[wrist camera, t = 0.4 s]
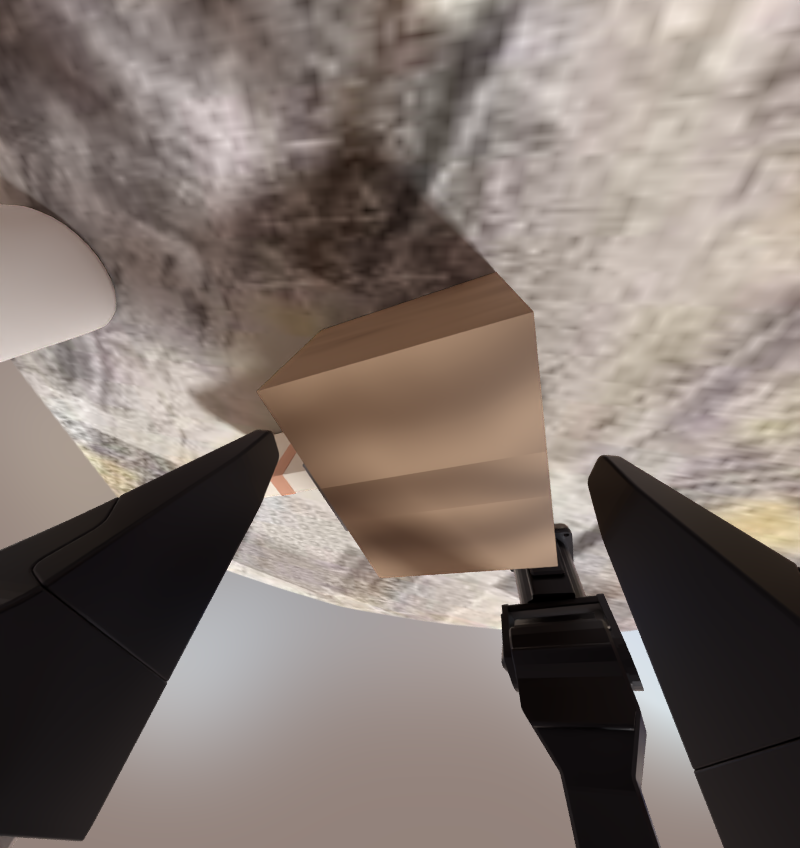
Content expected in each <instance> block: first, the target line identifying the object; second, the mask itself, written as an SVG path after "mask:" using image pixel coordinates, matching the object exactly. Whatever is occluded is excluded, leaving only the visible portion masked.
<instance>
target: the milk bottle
mask: <svg viewBox="0 0 800 848" xmlns="http://www.w3.org/2000/svg"><path fill="white" fill-rule="evenodd" d="M115 310H116V295H115V290H114V287H113V284H112V281H111V279H110V277H109V275H108V273H107V271H106V269H105V267H104V266H103V264H102V263H101V261H100V260H99V258H98V256H97V255H96V254H95V253H94V252H93V251H92V249H91V248H90V247H89V246H88V244H86V243H85V242H84V241H83V240H82V239H81V238H80V237H79V236H78V235H77V234H76V233H75V232H74V231H72V230H71V229H70V228H68V227H67V226H66V225H65V224H63V223H61V222H60V221H58V220H56V219H55V218H53V217H51V216H49V215H46V214H44V213H42V212H40V211H37V210H35V209H32V208H29V207H25V206H20V205H5V204H0V362H3V361H6V360H9V359H12V358H15V357H18V356H21V355H24V354H27V353H30V352H33V351H36V350H39V349H42V348H45V347H48V346H51V345H54V344H57V343H60V342H63V341H66V340H69V339H72V338H75V337H78V336H81V335H84V334H87V333H90V332H92V331H95V330H98V329H100V328H102V327H104V326H106V325H107V324H108V323H109V321H110V320H111V319H112V317H113V316H114V313H115Z"/></svg>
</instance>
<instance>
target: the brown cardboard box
mask: <svg viewBox="0 0 800 848" xmlns="http://www.w3.org/2000/svg"><path fill="white" fill-rule="evenodd" d="M256 392H257V393H258V395H259V396H260V398H261V399H262V401H263V402H264V404H265V405H266V407H267V408H268V410H269V412H270V413H271V415H272V416H273V418H274V419H275V421H276V422H277V424H278V425H279V427H280V428H281V430H282V431H283V433H284V434H285V436H286V437H287V439H288V440H289V442H290V443H291V445H292V446H293V448H294V449H295V451H296V452H297V454H298V455H299V457H300V458H301V460H302V461H303V465H302V466H303V467H304V469H305V470H306V472H307V473H308V475H309V476H310V478H311V479H312V481H313V482H314V484H315V485H316V487H317V488H318V490H319V491H320V493H321V494H322V496H323V497H324V499H325V500H326V502H327V503H328V505H329V506H330V508H331V509H332V511H333V512H334V513H335V515H336V516H337V518H338V519H339V521H340V522H341V524H342V525H343V527H344V528H345V530H346V531H349V532H350V534H351V535H352V537H353V538H354V540H355V541H356V543H357V544H358V546H359V547H360V549H361V550H362V552H363V553H364V555H365V556H366V558H367V559H368V561H369V562H370V564H371V565H372V567H373V568H374V570H375V571H376V573H377V574H378V576H379V577H380V578H390V577H405V576H420V575H435V574H450V573H465V572H480V571H494V570H509V569H524V568H539V567H554V566H558V562H557V552H556V541H555V531H554V521H553V510H552V500H551V489H550V479H549V468H548V458H547V448H546V437H545V427H544V416H543V406H542V395H541V385H540V375H539V364H538V354H537V343H536V333H535V322H534V312H533V311H532V310H531V309H530V307H529V306H528V305H527V304H526V303H525V302H524V301H523V300H522V299H521V298H520V297H519V296H518V295H517V294H516V293H515V291H514V290H513V289H512V288H511V287H510V286H509V285H508V284H507V283H506V282H505V281H504V280H503V279H502V278H501V277H500V275H499V274H498V273H497V272H494V273H491V274H488V275H485V276H482V277H479V278H476V279H473V280H470V281H467V282H464V283H461V284H458V285H455V286H452V287H449V288H446V289H443V290H440V291H437V292H434V293H431V294H428V295H425V296H422V297H419V298H416V299H413V300H410V301H407V302H404V303H401V304H398V305H395V306H392V307H389V308H386V309H383V310H380V311H377V312H374V313H371V314H368V315H365V316H362V317H359V318H356V319H353V320H350V321H347V322H344V323H341V324H338V325H335V326H332V327H329V328H326V329H323V330H321V331H320V332H319V333H318V334H316V335H315V336H314V337H313V338H312V339H311V340H310V341H309V342H308V343H307V344H306V345H305V346H304V347H303V348H302V349H301V350H300V351H299V352H297V353H296V354H295V355H294V356H293V357H292V358H291V359H290V360H289V361H288V362H287V363H286V364H285V365H284V366H283V367H282V368H281V369H280V370H278V371H277V372H276V373H275V374H274V375H273V376H272V377H271V378H270V379H269V380H268V381H267V382H266V383H265V384H264V385H263V386H262V387H260V388H259V389H258V390H257V391H256Z"/></svg>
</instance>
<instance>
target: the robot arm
mask: <svg viewBox="0 0 800 848" xmlns="http://www.w3.org/2000/svg"><path fill="white" fill-rule="evenodd" d="M278 460H279V451H278V447H277V444H276V440H275V437H274V434H273V433H272V432H271V431H269V430H256V431H253V432H251V433H249V434H247V435H245V436H243V437H241V438H239V439H237V440H235V441H233V442H231V443H229V444H226V445H224V446H222V447H220V448H218V449H216V450H214V451H212V452H210V453H208V454H206V455H204V456H202V457H200V458H197V459H195V460H193V461H191V462H189V463H187V464H185V465H183V466H181V467H179V468H177V469H175V470H173V471H171V472H168V473H166V474H164V475H162V476H160V477H158V478H156V479H154V480H152V481H150V482H148V483H146V484H144V485H141V486H139V487H137V488H135V489H133V490H131V491H129V492H127V493H125V494H123V495H121V496H120V497H119V498H118V497H117V498H114V499H112V500H110V501H108V502H106V503H104V504H102V505H100V506H98V507H96V508H94V509H92V510H89V511H87V512H85V513H83V514H81V515H79V516H76V517H74V518H72V519H70V520H68V521H66V522H63V523H61V524H59V525H57V526H54V527H52V528H50V529H47V530H45V531H43V532H41V533H38V534H36V535H34V536H32V537H29V538H27V539H25V540H22V541H20V542H18V543H15V544H13V545H11V546H8V547H6V548H4V549H1V550H0V848H11V847H12V845H13V844H14V843H15V841H16V840H17V838H18V837H23V838H38V839H54V840H69V841H83V840H84V838H85V836H86V835H87V833H88V831H89V830H90V828H91V826H92V825H93V823H94V821H95V819H96V817H97V815H98V813H99V812H100V810H101V808H102V806H103V804H104V802H105V800H106V798H107V796H108V794H109V792H110V791H111V789H112V787H113V785H114V783H115V781H116V779H117V777H118V776H119V774H120V772H121V770H122V768H123V766H124V764H125V762H126V760H127V759H128V757H129V755H130V753H131V751H132V749H133V747H134V745H135V743H136V741H137V739H138V738H139V736H140V734H141V732H142V730H143V728H144V726H145V724H146V723H147V720H148V719H149V717H150V715H151V713H152V711H153V709H154V707H155V705H156V704H157V702H158V700H159V698H160V696H161V694H162V692H163V690H164V688H165V686H166V685H167V681H168V680H169V678H170V676H171V675H172V672H173V671H174V669H175V667H176V665H177V663H178V661H179V659H180V657H181V656H182V654H183V652H184V650H185V648H186V646H187V644H188V642H189V640H190V638H191V637H192V635H193V633H194V631H195V629H196V627H197V625H198V623H199V621H200V619H201V618H202V616H203V614H204V612H205V610H206V608H207V606H208V604H209V602H210V601H211V599H212V597H213V595H214V593H215V591H216V589H217V587H218V585H219V583H220V581H221V580H222V578H223V576H224V574H225V572H226V570H227V568H228V566H229V565H230V563H231V561H232V559H233V557H234V555H235V553H236V551H237V549H238V547H239V546H240V544H241V542H242V540H243V538H244V536H245V534H246V532H247V530H248V528H249V527H250V525H251V523H252V521H253V519H254V517H255V515H256V513H257V511H258V509H259V507H260V505H261V503H262V501H263V498H264V496H265V493H266V491H267V488H268V486H269V483H270V481H271V478H272V476H273V473H274V471H275V468H276V466H277V463H278ZM588 488H589V491H590V495H591V499H592V503H593V506H594V510H595V514H596V518H597V521H598V525H599V529H600V532H601V535H602V539H603V542H604V544H605V547H606V550H607V552H608V555H609V557H610V560H611V562H612V565H613V567H614V570H615V572H616V575H617V577H618V580H619V583H620V585H621V588H622V590H623V593H624V595H625V598H626V600H627V603H628V605H629V608H630V610H631V613H632V615H633V618H634V621H635V623H636V626H637V628H638V631H639V633H640V635H641V638H642V641H643V643H644V646H645V648H646V650H647V653H648V655H649V658H650V661H651V664H652V666H653V669H654V671H655V674H656V676H657V679H658V681H659V684H660V686H661V689H662V691H663V694H664V697H665V699H666V702H667V704H668V706H669V709H670V712H671V714H672V716H673V719H674V722H675V724H676V727H677V729H678V732H679V734H680V737H681V740H682V742H683V745H684V747H685V750H686V752H687V755H688V757H689V760H690V762H691V765H692V767H693V769H695V771H694V773H695V776H696V778H697V781H698V784H699V786H700V789H701V791H702V794H703V796H704V799H705V801H706V804H707V806H708V809H709V811H710V814H711V816H712V819H713V821H714V824H715V827H716V829H717V832H718V834H719V837H720V839H721V842H722V844H723V847H724V848H800V567H797V565H796V564H795V563H794V562H792V561H790V560H789V559H787V558H785V557H784V556H782V555H780V554H779V553H777V552H776V551H774V550H772V549H771V548H769V547H767V546H766V545H764V544H762V543H761V542H759V541H757V540H756V539H754V538H753V537H751V536H749V535H748V534H746V533H744V532H743V531H741V530H739V529H738V528H736V527H734V526H733V525H731V524H730V523H728V522H726V521H725V520H723V519H721V518H720V517H718V516H716V515H715V514H713V513H712V512H710V511H708V510H707V509H705V508H703V507H702V506H700V505H698V504H697V503H695V502H693V501H692V500H690V499H689V498H687V497H685V496H684V495H682V494H680V493H679V492H677V491H675V490H674V489H672V488H671V487H669V486H667V485H666V484H664V483H662V482H661V481H659V480H657V479H656V478H654V477H653V476H651V475H649V474H648V473H646V472H644V471H643V470H641V469H639V468H638V467H636V466H634V465H633V464H631V463H630V462H628V461H626V460H625V459H623V458H621V457H619V456H611V455H602V456H600V457H599V458H598V459H597V461H596V463H595V465H594V467H593V470H592V472H591V474H590V476H589V478H588ZM554 531H555V541H556V552H557V562H558V566H554V567H539V568H524V569H510V570H511V571H512V572H514V574H515V579H516V584H517V589H518V594H519V599H520V604H515V605H508V604H505V605H502V614H501V621H502V640H503V647H502V665H503V668H504V669H505V670H506V671H507V672H508V673H509V676H510V678H511V681H512V684H513V686H514V689H515V690H516V691H517V692H519V695H520V702H521V708H522V710H523V712H524V714H525V715H526V717H527V719H528V720H529V722H530V724H531V725H532V727H533V729H534V730H535V732H536V733H537V735H538V737H539V739H540V740H541V742H542V743H543V745H544V746H545V748H546V750H547V752H548V753H549V755H550V757H551V758H552V760H553V762H554V763H555V765H556V766H557V768H558V770H559V772H560V774H561V779H562V783H563V788H564V792H565V797H566V801H567V807H568V811H569V816H570V820H571V825H572V830H573V835H574V840H575V844H576V848H661V846H660V843H659V841H658V838H657V835H656V832H655V829H654V826H653V823H652V820H651V817H650V814H649V811H648V809H647V806H646V803H645V800H644V797H643V794H642V790H641V785H642V775H643V765H644V754H645V745H646V729H645V725H644V722H643V718H642V715H641V711H640V707H639V705H638V702H637V700H636V697H635V695H634V692H633V691H644V689H643V686H642V683H641V680H640V678H639V675H638V672H637V670H636V667H635V665H634V662H633V660H632V658H631V655H630V653H629V651H628V648H627V646H626V643H625V641H624V639H623V636H622V634H621V632H620V630H619V628H618V625H617V623H616V621H615V619H614V616H613V614H612V612H611V610H610V608H609V605H608V603H607V601H606V599H605V596H604V594H596V596H587V597H586V595H585V592H584V590H583V587H582V584H581V582H580V579H579V576H578V574H577V571H576V568H575V566H574V563H573V542H572V533H571V531H570V529H567V528H564V529H554Z"/></svg>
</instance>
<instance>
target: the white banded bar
mask: <svg viewBox="0 0 800 848" xmlns="http://www.w3.org/2000/svg"><path fill="white" fill-rule="evenodd" d="M274 437H275V440H276V444H277V447H278V451H279V460H278V463H277V466H276V468H275V471H274V473H273V476H272V478H271V481H270V483H269V486H268V488H267V491H266V493H265V496H264V498H266V497H272V496H278V495H282V496H284V495H290V494H296V492H302V491H308V490H314V489H318V488H317V487H316V485H315V484H314V482H313V481H312V479H311V478H310V476H309V475H308V473H307V472H306V470H305V469H304V467H303V466H302V465H303V461H302V460H301V458H300V457H299V455H298V454H297V452H296V451H295V449H294V448H293V446H292V445H291V443H290V442H289V440H288V439H287V437H286V436H285V434H284V433H279V434H275V435H274Z"/></svg>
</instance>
